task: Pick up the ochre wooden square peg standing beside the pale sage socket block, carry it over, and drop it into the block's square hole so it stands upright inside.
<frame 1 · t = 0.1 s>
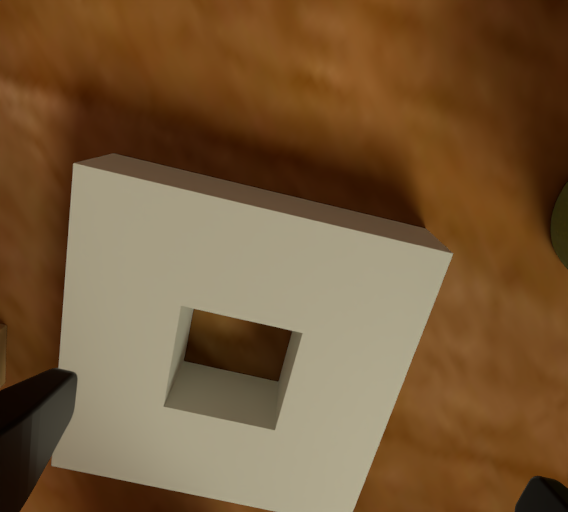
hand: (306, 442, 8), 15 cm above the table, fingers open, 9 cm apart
socket block: (240, 329, 24), on the table
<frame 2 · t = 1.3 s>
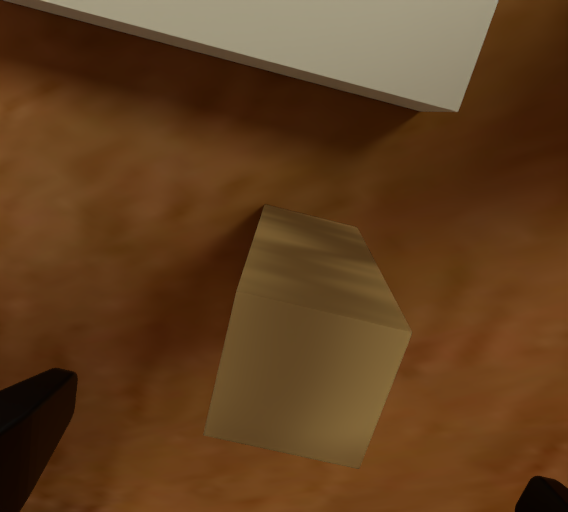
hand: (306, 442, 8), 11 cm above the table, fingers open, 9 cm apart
peg: (299, 259, 19), on the table
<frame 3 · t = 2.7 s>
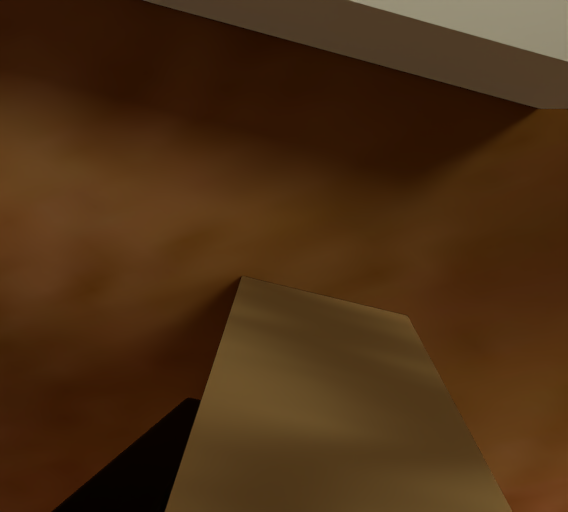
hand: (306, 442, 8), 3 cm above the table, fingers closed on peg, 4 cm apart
peg: (303, 367, 11), on the table, touching gripper
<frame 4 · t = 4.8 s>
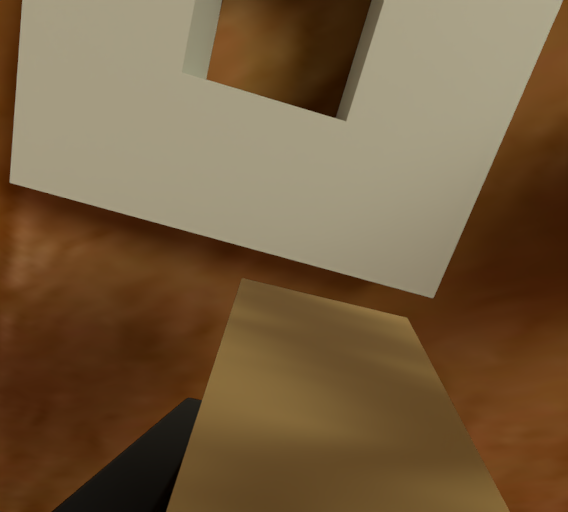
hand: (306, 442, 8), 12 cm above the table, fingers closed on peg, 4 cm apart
socket block: (289, 27, 17), on the table
peg: (303, 369, 11), point 10 cm above the table, touching gripper
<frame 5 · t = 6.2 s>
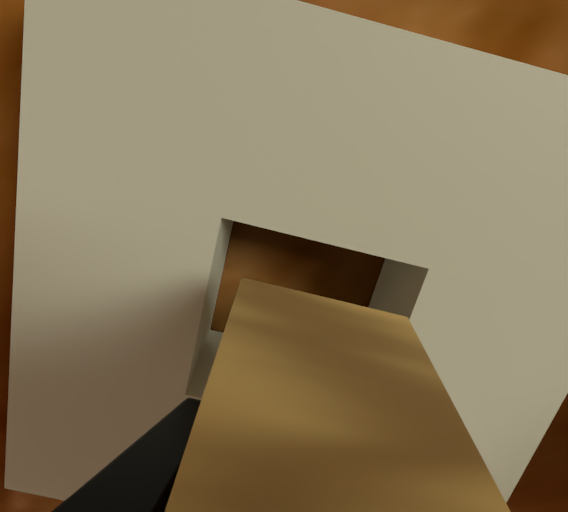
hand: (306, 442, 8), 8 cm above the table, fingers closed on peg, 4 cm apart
socket block: (298, 281, 16), on the table
peg: (303, 368, 11), point 6 cm above the table, touching gripper
when the fingers open (5 cm above the table, at t = 7.1 s): peg drops 2 cm, resting in socket block.
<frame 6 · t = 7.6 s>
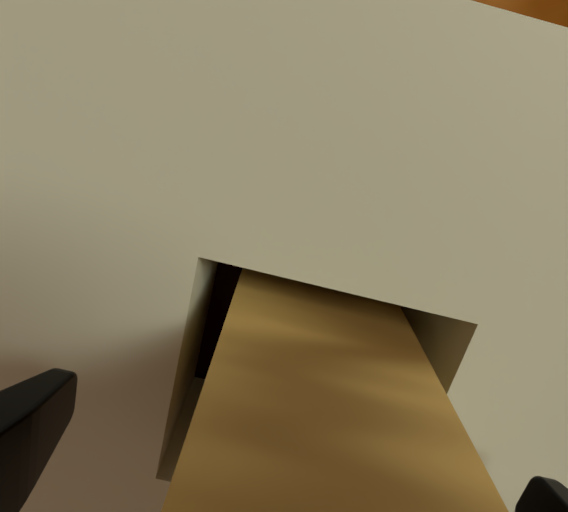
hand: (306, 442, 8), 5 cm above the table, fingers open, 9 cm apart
socket block: (301, 320, 13), on the table
peg: (300, 321, 13), resting in socket block
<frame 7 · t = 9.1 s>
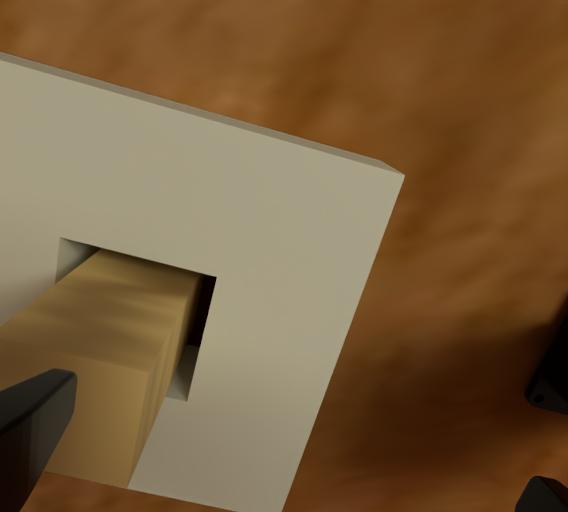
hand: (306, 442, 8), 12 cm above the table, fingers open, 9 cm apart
socket block: (158, 283, 20), on the table
peg: (158, 284, 20), resting in socket block
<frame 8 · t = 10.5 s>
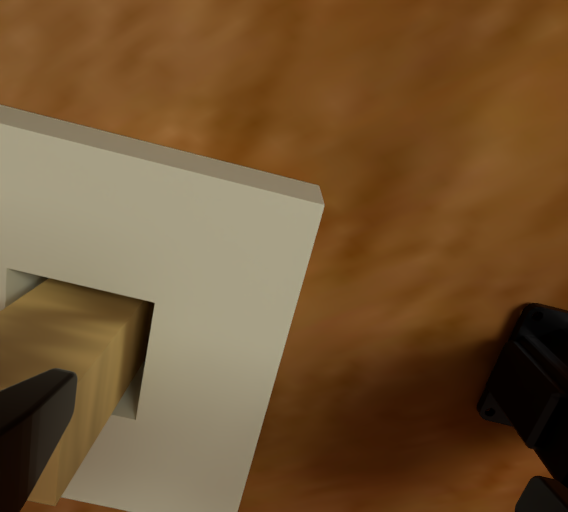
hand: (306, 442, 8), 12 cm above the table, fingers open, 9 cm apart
socket block: (115, 305, 21), on the table
peg: (115, 305, 21), resting in socket block
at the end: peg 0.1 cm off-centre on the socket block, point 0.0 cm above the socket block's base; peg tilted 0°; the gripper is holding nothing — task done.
